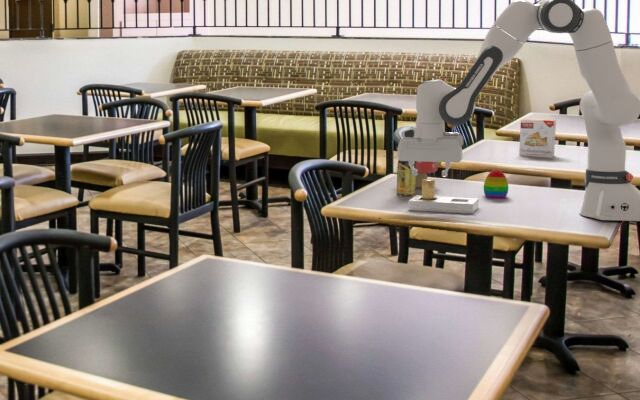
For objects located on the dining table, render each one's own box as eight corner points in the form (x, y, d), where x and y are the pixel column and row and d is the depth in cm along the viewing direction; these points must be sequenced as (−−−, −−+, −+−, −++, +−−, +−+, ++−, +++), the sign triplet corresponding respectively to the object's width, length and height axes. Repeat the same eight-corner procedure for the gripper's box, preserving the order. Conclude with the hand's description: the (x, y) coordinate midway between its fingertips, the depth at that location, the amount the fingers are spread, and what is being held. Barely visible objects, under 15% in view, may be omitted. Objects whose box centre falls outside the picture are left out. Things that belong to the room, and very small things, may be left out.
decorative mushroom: (390, 191, 328) (391, 149, 326) (415, 188, 337) (416, 146, 335) (420, 196, 319) (420, 152, 316) (444, 192, 328) (445, 149, 325)
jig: (478, 207, 295) (478, 198, 295) (472, 213, 284) (473, 204, 283) (416, 204, 301) (416, 195, 300) (408, 210, 290) (408, 200, 289)
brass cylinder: (435, 207, 295) (435, 179, 294) (432, 209, 291) (433, 181, 290) (422, 206, 296) (423, 178, 295) (420, 208, 293) (420, 180, 291)
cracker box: (518, 168, 397) (520, 119, 394) (521, 166, 403) (522, 118, 399) (551, 170, 392) (553, 120, 389) (553, 168, 397) (556, 119, 394)
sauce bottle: (393, 197, 316) (394, 138, 313) (410, 196, 318) (411, 138, 315) (401, 199, 310) (402, 140, 307) (418, 199, 312) (419, 139, 309)
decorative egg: (502, 201, 307) (503, 171, 306) (479, 199, 312) (480, 169, 310) (511, 198, 314) (512, 169, 313) (488, 196, 319) (489, 167, 317)
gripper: (465, 131, 290) (464, 175, 292) (400, 130, 296) (400, 173, 298) (461, 133, 284) (461, 178, 286) (396, 132, 290) (396, 176, 292)
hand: (429, 175), depth 292 cm, fingers open, 8 cm apart
